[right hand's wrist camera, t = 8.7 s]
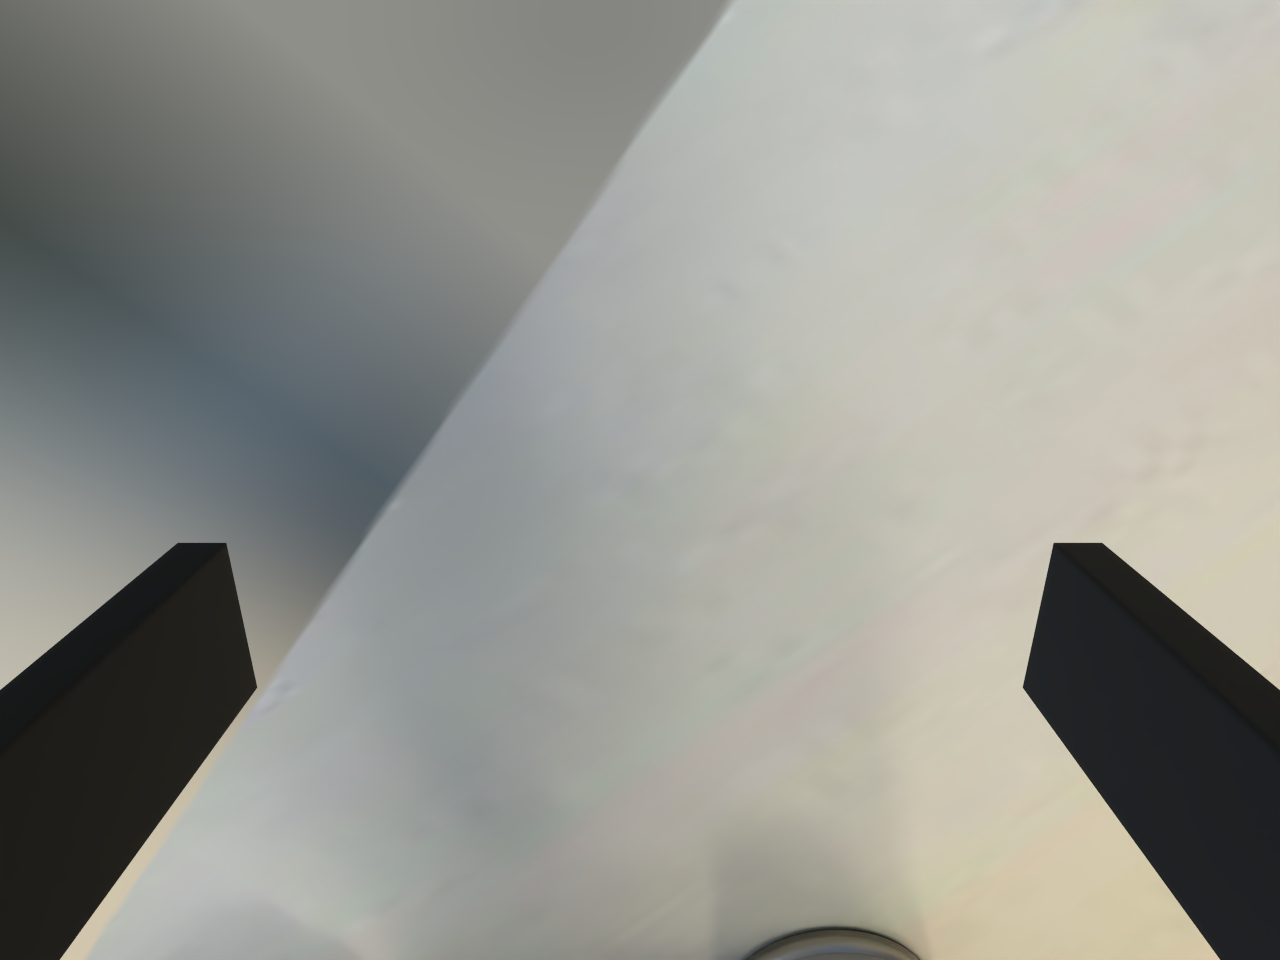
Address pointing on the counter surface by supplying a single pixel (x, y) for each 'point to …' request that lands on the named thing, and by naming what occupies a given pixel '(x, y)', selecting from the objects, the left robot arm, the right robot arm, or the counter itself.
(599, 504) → the counter surface
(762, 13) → the counter surface
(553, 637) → the counter surface
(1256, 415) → the counter surface
